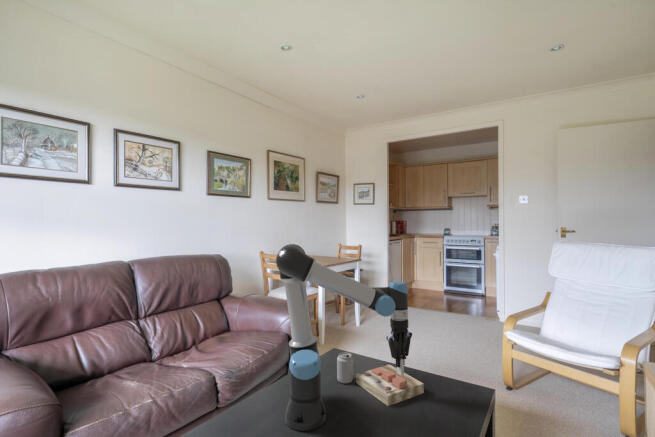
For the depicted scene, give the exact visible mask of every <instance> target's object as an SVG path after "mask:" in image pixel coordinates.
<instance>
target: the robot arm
mask: <svg viewBox="0 0 655 437" xmlns="http://www.w3.org/2000/svg"><path fill="white" fill-rule="evenodd" d="M275 263H276V267H277V269H278V272H279V278H280V280H281V281H282V282H283V283H284V289H285V290H284V291H285V296H286V297H285V298H286V303H287V304H286V305H287V311H288V320H289V326H290V334H291V335H290V336H291V339H290V340H289V342H288V347H289V348H288V349H289V355H290V360H289V362H288V364H289V365H288V366H289V367H288V368H289V400H288V403H287V406H286V410H285V414H284V418H285V419H284V421H285V424H286V425H287V426H288V427H289V428H291V429H292V430H296V431H300V432H304V431H305V432H307V431H309V432H310V431H312V430H313V431H314V430H315V429H318V428H320V427H321V426H322V425H324V423H325V422H326V420H327V419H326V414H327V412H326V408H325V406H324V403H323V398H322V395H321V394H322V388H321V387H322V384H321V383H322V380H321V378H322V370H321V369H322V361H321V356H320V354H319V347H318V340H317V337H316V336H315V335H313V331H312V324H311V317H310V316H311V315H310V308H309V302H308V292H307V286H306V284H307V282H309V283H312V284H314V285H316V286H319V287H321V288H324V289H325V290H327V291H330V292H332V293H335V294H336V295H338V296H341V297H343V298H345V299H348V300H350V301H352V302H355V303H357V304H359V305H362V306H363V307H365V308H368V309H370V310H371V311H374V312H376V313H377V314H378V315H380V316H382V317H390V319H389V321H390V326H389V327H390V328H391V331H390V335H389V336H386V340H387V342H388V346H389V350H390V356H391V358H392V359H394V360H395V366H396V367H395V368H397V373H398V374H399V375H401V376H402V375H404V373H405V367H404V366H405V365H406V363H405V360H407V357H408V356H409V352H410V346H411V339H412V337H413V332H410V331H409V330H408V329H409V319H408V318H409V290H408V283H406V282H404V281H401V280H400V281H399V280H394V281H391V282H389V285H388V286H381V287H376V286H375V287H371V286H368V285H366V284H364V283H362V282H359V281H358V280H355V279H353V278H350V277H349V276H346V275H344V274H341V273H340V272H337V271H336V270H333V269H331V268H328V267H326V266H324V265H322V264H319V263H317V261H316V259H315V258H313V257H312V256H310V255H307V254H306V251H305V250H304V249H303V247H301V246H300V245H298V244H295V243H289V244H286V245H284V246H283V247H281V248H280V250H279V251H278V252H277V255H276V257H275Z"/></svg>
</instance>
